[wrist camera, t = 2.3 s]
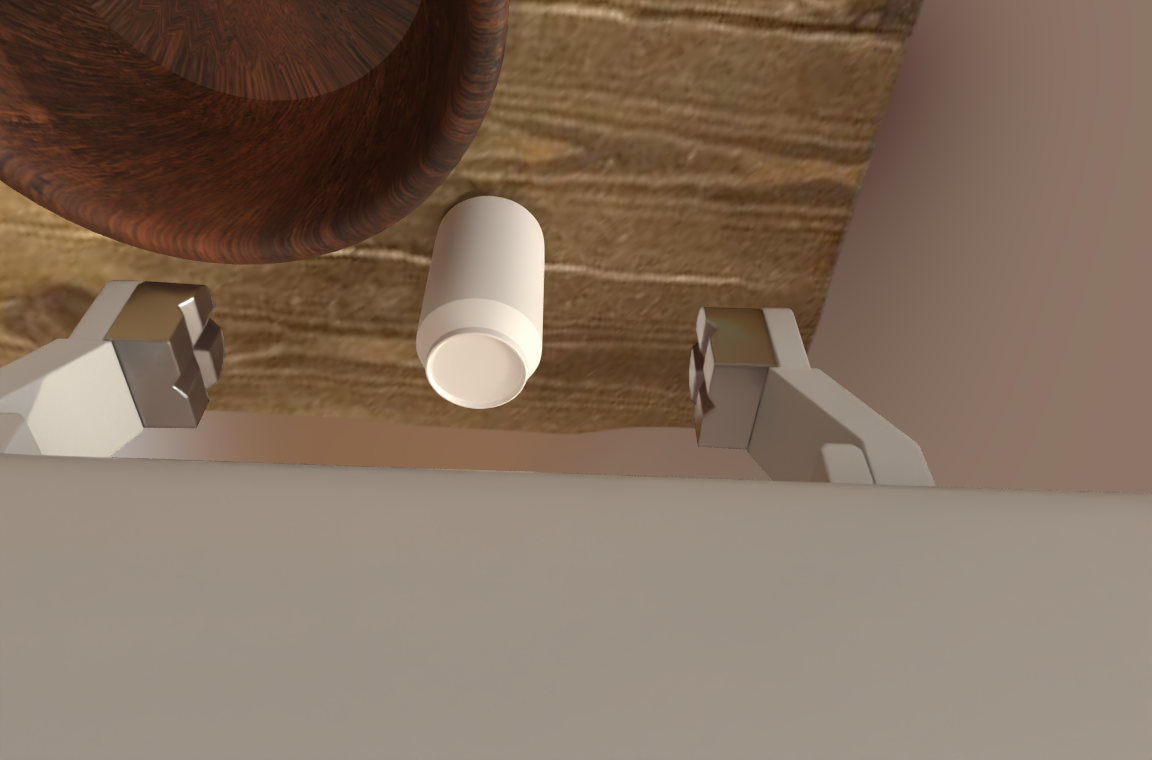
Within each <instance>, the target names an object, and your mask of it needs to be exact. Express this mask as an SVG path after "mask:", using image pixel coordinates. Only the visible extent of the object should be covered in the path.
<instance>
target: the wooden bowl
mask: <svg viewBox="0 0 1152 760" xmlns="http://www.w3.org/2000/svg"><path fill="white" fill-rule="evenodd" d="M508 13H509V0H0V180H1V181H2V182H4V183H5V184H6V185H8V186H9V187H11V188H12V189H14V190H16V191H17V192H19V193H21V194H22V195H24V196H25V197H27V198H29V199H30V200H32V201H34V202H35V203H37V204H38V205H40V206H42V207H44V208H46V209H48V210H50V211H52V212H53V213H55V214H57V215H59V216H61V217H63V218H65V219H67V220H69V221H71V222H73V223H75V224H78V225H80V226H82V227H84V228H87V229H89V230H91V231H93V232H95V233H98V234H101V235H103V236H106V237H109V238H111V239H114V240H117V241H119V242H122V243H125V244H128V245H131V246H135V247H138V248H141V249H145V250H148V251H151V252H155V253H160V254H164V255H169V256H173V257H178V258H183V259H189V260H196V261H203V262H211V263H224V264H270V263H281V262H290V261H296V260H301V259H307V258H313V257H316V256H320V255H324V254H327V253H331V252H335V251H338V250H341V249H343V248H346V247H349V246H351V245H354V244H356V243H359V242H361V241H363V240H365V239H367V238H369V237H371V236H373V235H375V234H377V233H379V232H381V231H383V230H385V229H386V228H388V227H389V226H391V225H393V224H394V223H396V222H397V221H399V220H400V219H402V218H404V217H405V216H406V215H407V214H409V213H410V212H411V211H412V210H414V209H415V208H416V207H417V206H419V205H420V204H421V203H422V202H423V201H424V200H425V199H426V198H427V197H428V196H429V195H430V194H431V193H432V192H433V191H434V190H435V189H436V188H437V187H438V186H439V185H440V184H441V183H442V182H443V181H444V180H445V178H446V177H447V176H448V175H449V173H450V172H451V171H452V170H453V168H454V167H455V166H456V165H457V163H458V162H459V161H460V160H461V158H462V156H463V155H464V153H465V152H466V150H467V149H468V147H469V145H470V144H471V142H472V141H473V139H474V137H475V135H476V133H477V131H478V129H479V127H480V125H481V123H482V121H483V119H484V117H485V115H486V113H487V110H488V108H489V105H490V102H491V99H492V97H493V94H494V91H495V88H496V85H497V81H498V77H499V73H500V69H501V65H502V61H503V57H504V50H505V43H506V36H507V30H508Z"/></svg>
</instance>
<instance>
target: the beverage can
mask: <svg viewBox="0 0 1152 760" xmlns="http://www.w3.org/2000/svg"><path fill="white" fill-rule="evenodd" d="M543 292H544V238H543V234H542V230H541V228H540V226H539V224H538V222H537V220H536V219H535V218H534V216H533V215H532V214H531V213H530V212H529V211H528V210H526V209H525V208H524V207H522V206H521V205H519V204H518V203H516V202H513V201H511V200H508V199H505V198H501V197H496V196H479V197H474V198H470V199H467V200H464V201H462V202H460V203H458V204H457V205H455V206H454V207H453V208H451V209H450V210H449V211H448V212H447V214H446V215H445V216H444V218H443V219H442V221H441V223H440V225H439V228H438V231H437V235H436V239H435V244H434V249H433V254H432V259H431V264H430V269H429V274H428V280H427V285H426V290H425V295H424V300H423V305H422V310H421V316H420V321H419V326H418V331H417V337H416V349H417V354H418V357H419V359H420V361H421V363H422V365H423V366H424V368H425V371H426V376H427V379H428V381H429V383H430V385H431V386H432V388H433V389H434V390H435V391H436V392H437V393H438V394H439V395H440V396H441V397H443V398H444V399H446V400H448V401H450V402H452V403H454V404H456V405H459V406H463V407H468V408H476V409H483V408H492V407H496V406H500V405H502V404H505V403H507V402H509V401H510V400H512V399H513V398H515V397H516V396H517V395H518V394H519V393H520V392H521V390H522V389H523V387H524V385H525V383H526V380H527V379H528V378H529V377H530V376H531V375H532V374H533V373H534V371H535V370H536V368H537V366H538V364H539V362H540V359H541V354H542V328H543Z"/></svg>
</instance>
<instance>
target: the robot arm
mask: <svg viewBox="0 0 1152 760" xmlns="http://www.w3.org/2000/svg"><path fill="white" fill-rule="evenodd" d="M214 308H215V304H214V300H213V297H212V294H211V291H210V289H209V288H207V287H206V286H205V285H195V284H179V283H163V282H147V281H145V282H141V281H126V280H113V281H110V282H107V283H106V284H105V286H104V287H103V289H102V290H101V292H100V293H99V294H98V296H97V297H96V299H95V300H94V302H93V303H92V304H91V306H90V307H89V309H88V310H87V312H86V313H85V315H84V316H83V317H82V319H81V320H80V322H79V323H78V325H77V326H76V327H75V329H74V330H73V332H72V333H71V335H70V336H69V338H68V339H56V340H54V341H52V342H51V343H49V344H47V345H45V346H43V347H41V348H39V349H37V350H35V351H33V352H31V353H29V354H27V355H25V356H23V357H21V358H19V359H17V360H15V361H13V362H11V363H9V364H7V365H5V366H3V367H1V368H0V760H1152V494H1143V493H1118V492H1088V491H1087V492H1086V491H1057V490H1056V491H1055V490H1054V491H1053V490H1026V489H1025V490H1024V489H995V488H964V487H937V486H935V483H934V481H933V478H932V476H931V473H930V471H929V468H928V466H927V464H926V461H925V459H924V456H923V454H922V451H921V449H920V447H919V445H918V444H917V443H916V442H914V441H913V440H911V439H910V438H909V437H908V436H906V435H905V434H904V433H902V432H901V431H900V430H899V429H897V428H896V427H895V426H893V425H892V424H891V423H889V422H888V421H887V420H885V419H884V418H883V417H881V416H880V415H879V414H877V413H876V412H875V411H873V410H872V409H870V407H868V406H867V405H865V404H864V403H863V402H862V401H860V400H859V399H858V398H856V397H855V396H854V395H852V394H851V393H850V392H849V391H847V390H846V389H844V388H843V387H842V386H841V385H839V384H838V383H837V382H835V381H834V380H833V379H831V378H830V377H829V376H827V375H826V374H825V373H824V372H822V371H821V370H820V369H811V368H810V365H809V362H808V358H807V355H806V352H805V349H804V346H803V343H802V340H801V336H800V333H799V330H798V327H797V324H796V321H795V318H794V314H793V311H792V310H790V309H789V308H760V309H755V308H725V307H701V308H700V311H699V314H698V319H697V324H696V328H697V335H698V341H699V342H697V343H696V344H695V345H694V346H693V347H692V353H691V360H690V371H689V388H690V397H691V401H692V402H693V403H694V404H695V405H696V409H695V414H694V424H695V430H696V437H697V443H698V446H700V447H714V448H731V449H747V450H748V451H747V452H748V453H749V454H750V455H751V456H752V457H753V459H754V460H755V461H756V462H757V463H758V464H759V465H760V467H761V468H762V469H763V470H764V471H765V472H766V473H767V475H768V476H769V477H770V478H771V479H772V480H773V481H770V480H742V479H715V478H713V479H712V478H687V477H658V476H630V475H628V476H627V475H601V474H599V475H598V474H572V473H571V474H570V473H543V472H514V471H486V470H458V469H457V470H456V469H430V468H429V469H428V468H401V467H400V468H399V467H373V466H371V467H370V466H345V465H316V464H287V463H260V462H231V461H203V460H202V461H201V460H175V459H147V458H117V457H111V456H112V455H113V454H114V453H116V452H117V451H118V450H119V449H121V448H122V447H123V446H124V445H126V444H127V443H128V442H129V441H131V440H132V439H133V438H135V437H136V436H137V435H138V434H140V433H141V432H142V431H143V430H144V428H197V426H198V424H199V421H200V419H201V417H202V415H203V413H204V411H205V409H206V406H207V404H208V402H209V398H208V394H207V391H206V389H208V388H209V387H211V386H213V385H214V384H216V383H217V382H218V380H219V378H220V375H221V373H222V371H223V365H224V358H225V345H224V338H223V334H222V330H221V327H219V326H218V325H217V324H216V323H215V322H214V321H213V320H212V319H211V318H210V316H211V314H212V312H213V310H214Z"/></svg>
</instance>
